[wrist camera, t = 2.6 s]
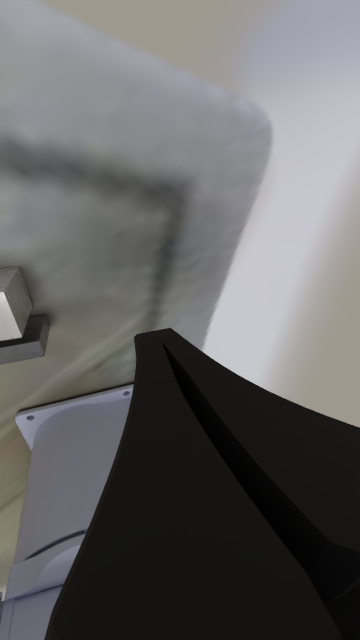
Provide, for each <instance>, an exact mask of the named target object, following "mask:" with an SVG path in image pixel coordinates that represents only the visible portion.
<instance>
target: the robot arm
mask: <svg viewBox="0 0 360 640" xmlns="http://www.w3.org/2000/svg"><path fill="white" fill-rule="evenodd" d="M134 342H135V350H136V359H137V360H136V371H135V380H134V384H132V385H128V386H124V387H120V388H116V389H112V390H107V391H103V392H99V393H95V394H91V395H87V396H83V397H79V398H75V399H71V400H67V401H63V402H58V403H54V404H50V405H46V406H42V407H38V408H34V409H30V410H26V411H22V412H19V413H17V414H16V417H15V422H16V424H17V426H18V428H19V429H20V431H21V433H22V435H23V437H24V439H25V440H26V442H27V444H28V446H29V448H30V450H31V451H32V454H31V460H30V466H29V472H28V478H27V484H26V490H25V496H24V502H23V508H22V514H21V520H20V526H19V532H18V538H17V544H16V550H15V556H14V562H13V564H12V565H11V566H10V571H9V577H8V583H7V589H6V595H5V600H4V601H2V602H1V599H2V592H0V640H360V428H359V427H356V426H353V425H351V424H347V423H345V422H342V421H339V420H336V419H334V418H331V417H328V416H325V415H323V414H320V413H318V412H315V411H313V410H310V409H308V408H305V407H303V406H301V405H298V404H296V403H294V402H291V401H289V400H287V399H284V398H282V397H280V396H278V395H276V394H273V393H271V392H269V391H267V390H265V389H263V388H261V387H259V386H257V385H255V384H254V383H252V382H250V381H248V380H246V379H244V378H242V377H241V376H239V375H237V374H235V373H234V372H232V371H231V370H229V369H227V368H225V367H224V366H222V365H221V364H219V363H218V362H216V361H215V360H213V359H212V358H210V357H209V356H207V355H206V354H205V353H203V352H202V351H200V350H199V349H198V348H196V347H195V346H194V345H192V344H191V343H190V342H188V341H187V340H186V339H184V338H183V337H182V336H181V335H179V334H178V333H177V332H175V331H174V330H173V329H171V328H167V329H162V330H157V331H151V332H146V333H141V334H137V335H136V336H135V337H134ZM126 391H128V392H126ZM30 415H32V416H30Z"/></svg>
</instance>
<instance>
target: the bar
mask: <svg viewBox="0 0 360 640" xmlns="http://www.w3.org/2000/svg"><path fill="white" fill-rule="evenodd" d="M32 306H33V304H32V301H31V298H30V295H29V293H28V290H27V287H26V284H25V281H24V278H23V276H22V273H21V270H20V267H9V268H0V341H3V340H9V339H15V338H20V337H22V336H23V333H24V330H25V327H26V324H27V321H28V318H29V315H30V312H31V309H32Z"/></svg>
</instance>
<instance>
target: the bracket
mask: <svg viewBox="0 0 360 640" xmlns="http://www.w3.org/2000/svg"><path fill="white" fill-rule="evenodd" d="M49 329H50V326H49V323H48V320H47V317H46V314H41V315H35V316H29V318H28V321H27V324H26V327H25V330H24V333H23V336H22V337H20V338H15V339H9V340H3V341H0V365H1V364H6V363H11V362H16V361H21V360H26V359H32V358H37V357H42V356H45V351H46V345H47V340H48V335H49Z"/></svg>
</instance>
